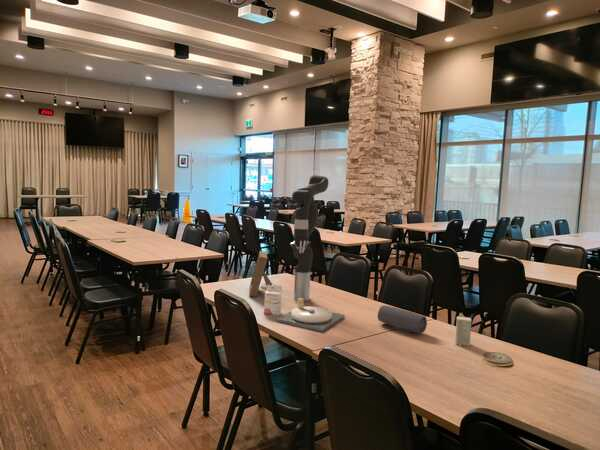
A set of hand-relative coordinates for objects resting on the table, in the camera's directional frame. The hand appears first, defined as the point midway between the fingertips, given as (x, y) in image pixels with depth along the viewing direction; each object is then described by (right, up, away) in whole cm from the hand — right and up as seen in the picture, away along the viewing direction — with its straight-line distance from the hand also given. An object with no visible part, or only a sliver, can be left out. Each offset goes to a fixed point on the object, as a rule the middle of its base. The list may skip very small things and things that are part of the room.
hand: (300, 259), depth 224 cm
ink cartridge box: (-15, -29, -1) cm, 32 cm away
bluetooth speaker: (+50, -33, -18) cm, 63 cm away
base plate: (+6, -30, -9) cm, 32 cm away
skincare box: (+74, -36, -34) cm, 89 cm away
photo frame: (-24, -24, +39) cm, 52 cm away
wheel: (+6, -28, -9) cm, 30 cm away
